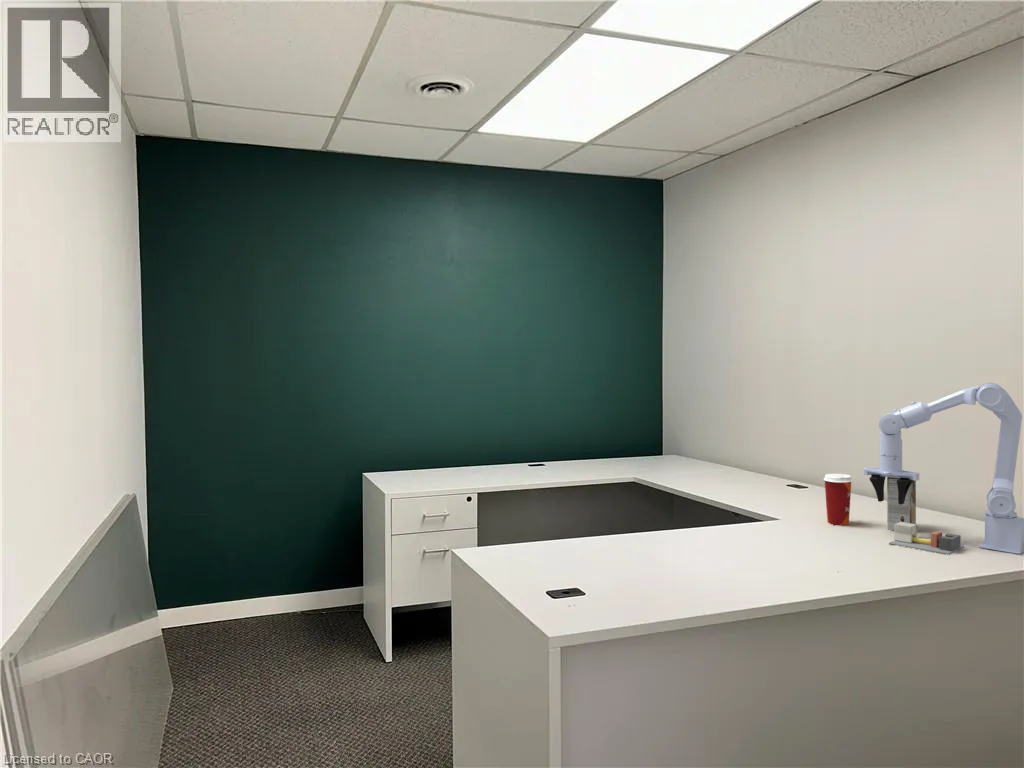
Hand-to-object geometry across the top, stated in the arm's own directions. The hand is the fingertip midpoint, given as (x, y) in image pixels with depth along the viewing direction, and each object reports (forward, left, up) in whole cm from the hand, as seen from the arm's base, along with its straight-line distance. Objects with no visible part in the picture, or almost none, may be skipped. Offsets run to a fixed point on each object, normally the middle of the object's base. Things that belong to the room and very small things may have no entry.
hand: (891, 502), depth 212 cm
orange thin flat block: (-13, +3, -10) cm, 17 cm away
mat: (-11, +3, -10) cm, 15 cm away
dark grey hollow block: (-17, +3, -10) cm, 19 cm away
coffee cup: (+18, -5, -10) cm, 21 cm away
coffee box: (+2, -12, -10) cm, 16 cm away
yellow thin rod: (-9, +3, -10) cm, 14 cm away
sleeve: (-5, +3, -10) cm, 12 cm away
